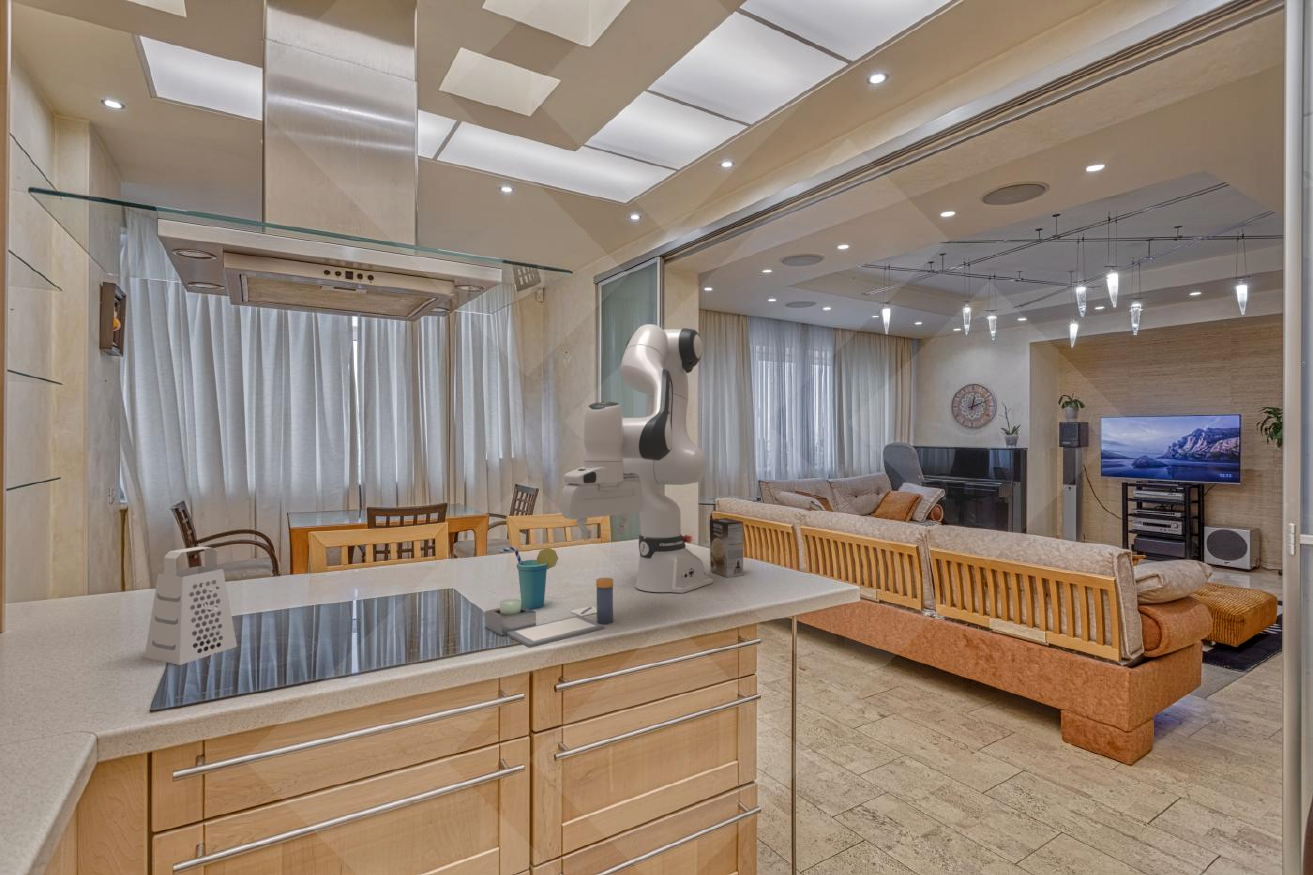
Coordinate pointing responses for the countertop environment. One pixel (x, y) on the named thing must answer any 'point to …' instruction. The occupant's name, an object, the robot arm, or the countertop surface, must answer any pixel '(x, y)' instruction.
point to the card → (585, 611)
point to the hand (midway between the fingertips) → (604, 536)
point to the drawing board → (554, 631)
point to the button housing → (509, 620)
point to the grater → (189, 611)
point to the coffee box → (726, 547)
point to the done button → (510, 607)
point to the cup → (534, 576)
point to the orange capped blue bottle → (604, 600)
